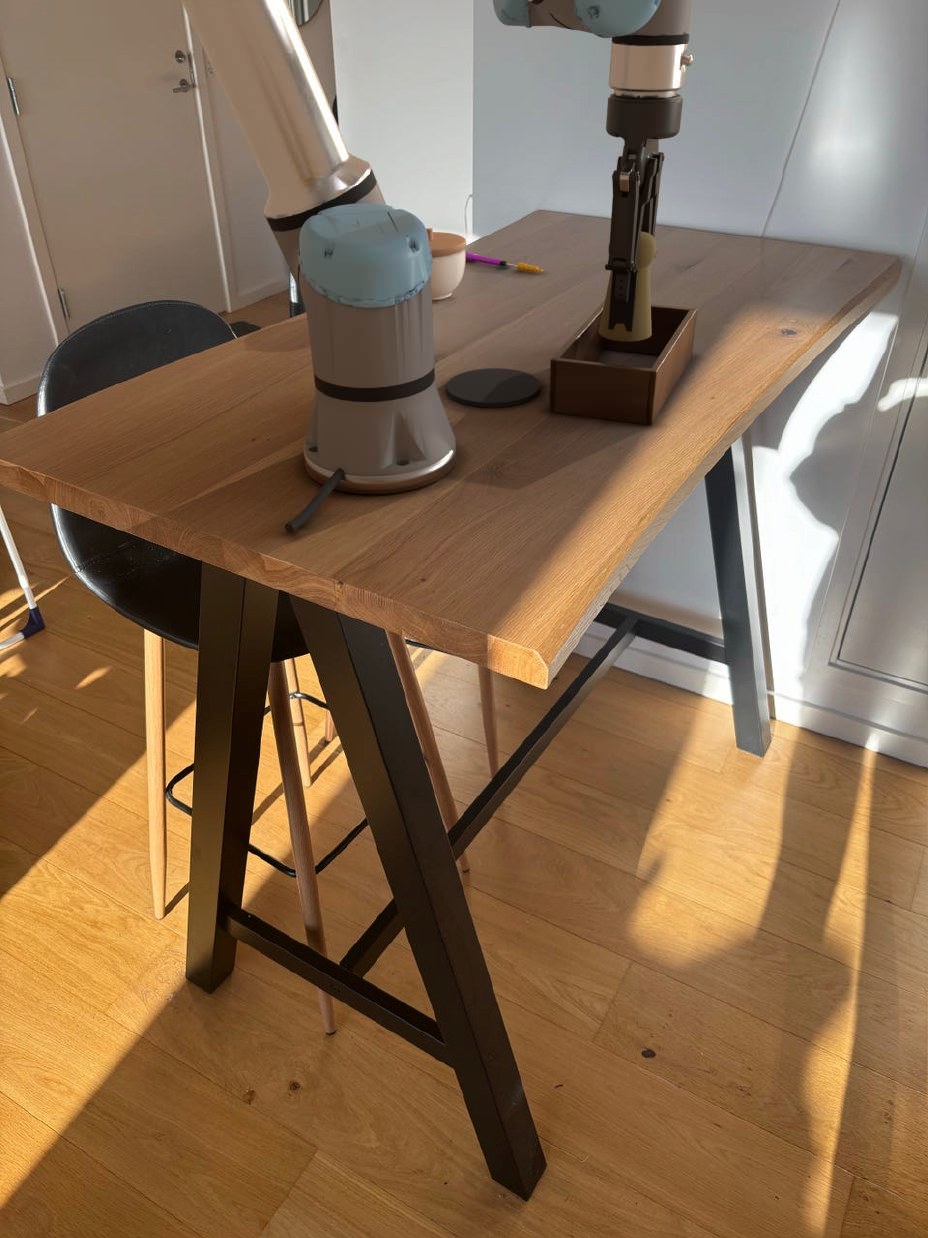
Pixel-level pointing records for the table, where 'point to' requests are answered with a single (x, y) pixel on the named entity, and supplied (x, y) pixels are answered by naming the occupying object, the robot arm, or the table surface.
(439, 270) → the trinket box
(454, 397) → the coaster
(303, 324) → the table surface
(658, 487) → the table surface
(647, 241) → the cork
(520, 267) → the multicoloured piece
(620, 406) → the box
